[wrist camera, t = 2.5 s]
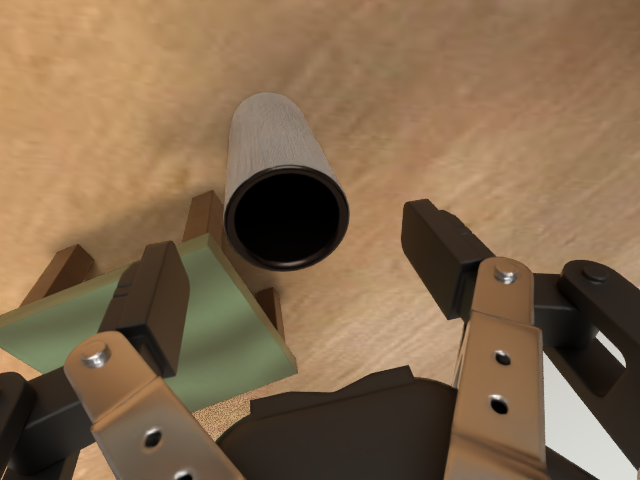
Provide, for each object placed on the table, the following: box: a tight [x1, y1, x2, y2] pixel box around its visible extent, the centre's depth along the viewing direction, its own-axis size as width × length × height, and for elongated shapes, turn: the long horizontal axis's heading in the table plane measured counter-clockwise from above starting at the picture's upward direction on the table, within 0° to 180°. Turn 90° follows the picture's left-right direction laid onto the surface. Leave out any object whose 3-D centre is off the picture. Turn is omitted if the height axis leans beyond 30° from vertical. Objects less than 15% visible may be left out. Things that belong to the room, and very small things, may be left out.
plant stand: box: [0, 190, 298, 413], centre depth 23 cm, size 12×12×7 cm
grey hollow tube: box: [223, 92, 350, 272], centre depth 16 cm, size 4×4×10 cm
